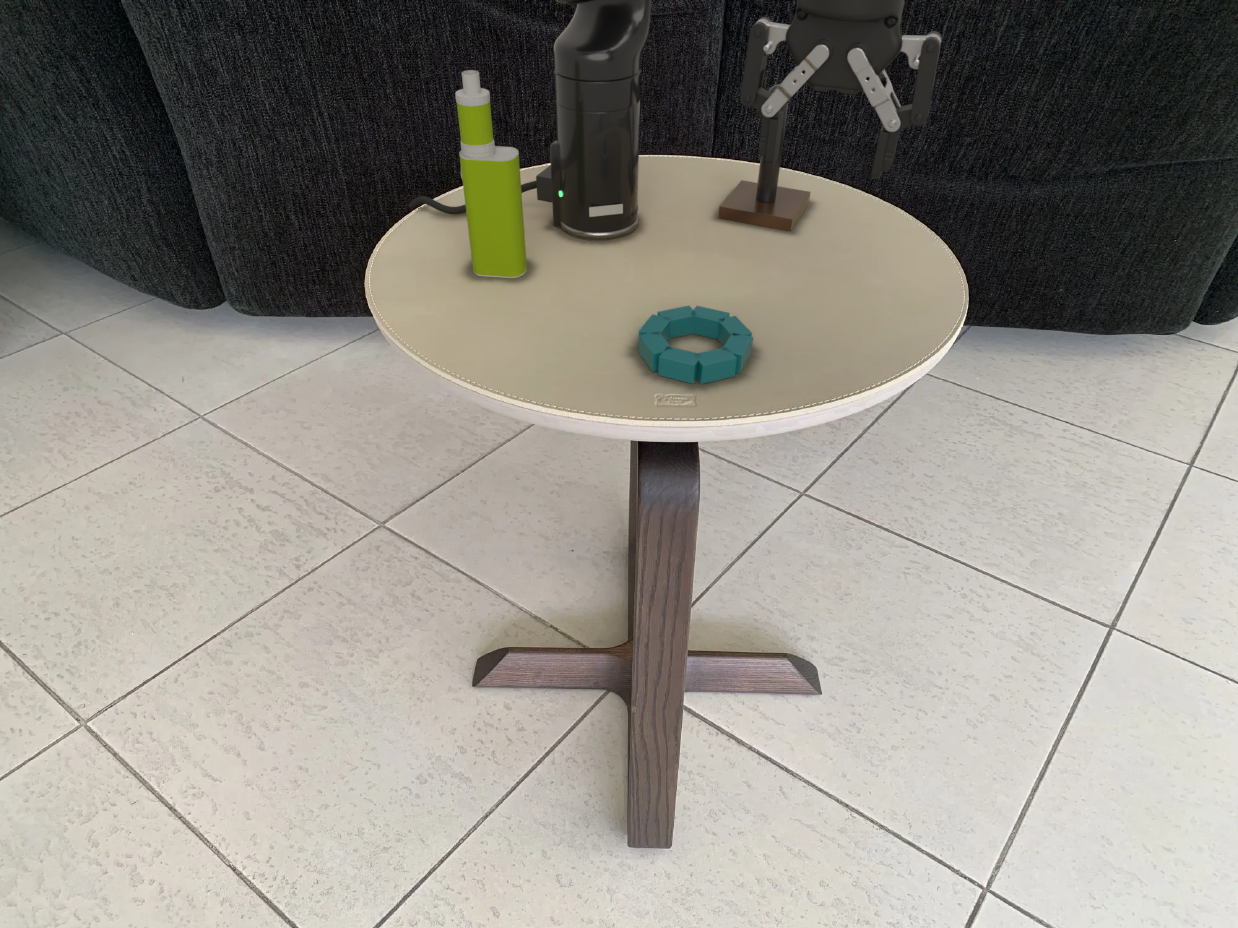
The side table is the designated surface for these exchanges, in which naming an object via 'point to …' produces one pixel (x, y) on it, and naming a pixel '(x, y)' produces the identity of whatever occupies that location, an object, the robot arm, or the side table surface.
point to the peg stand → (766, 196)
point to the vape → (489, 187)
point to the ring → (690, 363)
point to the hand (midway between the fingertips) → (822, 168)
